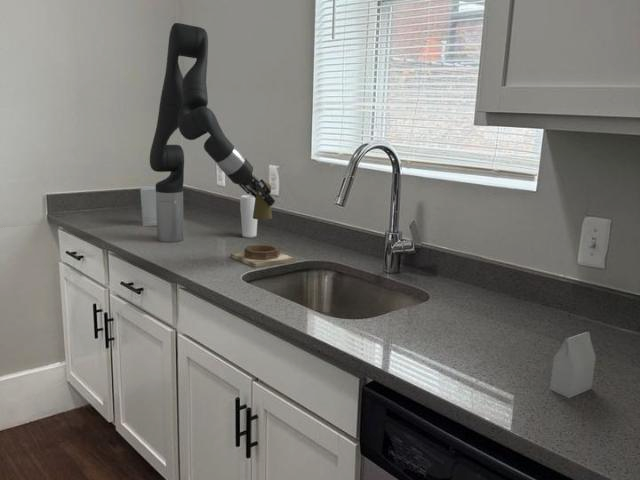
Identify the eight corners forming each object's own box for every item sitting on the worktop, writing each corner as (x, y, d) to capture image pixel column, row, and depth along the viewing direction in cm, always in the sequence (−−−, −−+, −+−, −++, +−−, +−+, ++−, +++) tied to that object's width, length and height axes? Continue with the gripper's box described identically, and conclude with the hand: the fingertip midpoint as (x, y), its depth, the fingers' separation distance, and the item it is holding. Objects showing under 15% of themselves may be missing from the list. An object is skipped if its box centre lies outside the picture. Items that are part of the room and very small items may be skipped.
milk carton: (591, 388, 102) (598, 335, 100) (569, 398, 98) (576, 343, 96) (572, 380, 105) (579, 328, 103) (549, 389, 101) (556, 335, 99)
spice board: (230, 257, 184) (230, 246, 183) (267, 251, 193) (268, 241, 192) (255, 267, 173) (255, 256, 172) (294, 261, 181) (294, 250, 180)
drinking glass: (236, 237, 213) (236, 196, 210) (245, 233, 219) (246, 194, 216) (253, 239, 211) (253, 198, 207) (261, 235, 217) (262, 196, 213)
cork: (269, 220, 176) (269, 184, 174) (250, 218, 177) (250, 183, 175) (274, 217, 182) (275, 182, 180) (256, 215, 183) (256, 181, 181)
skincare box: (164, 223, 234) (163, 186, 230) (163, 226, 228) (162, 188, 225) (142, 223, 232) (141, 186, 229) (141, 226, 226) (140, 188, 223)
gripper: (254, 157, 166) (288, 196, 175) (229, 153, 177) (262, 190, 186) (238, 176, 163) (273, 215, 173) (214, 171, 174) (248, 208, 184)
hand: (267, 202), depth 180 cm, fingers closed on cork, 4 cm apart
